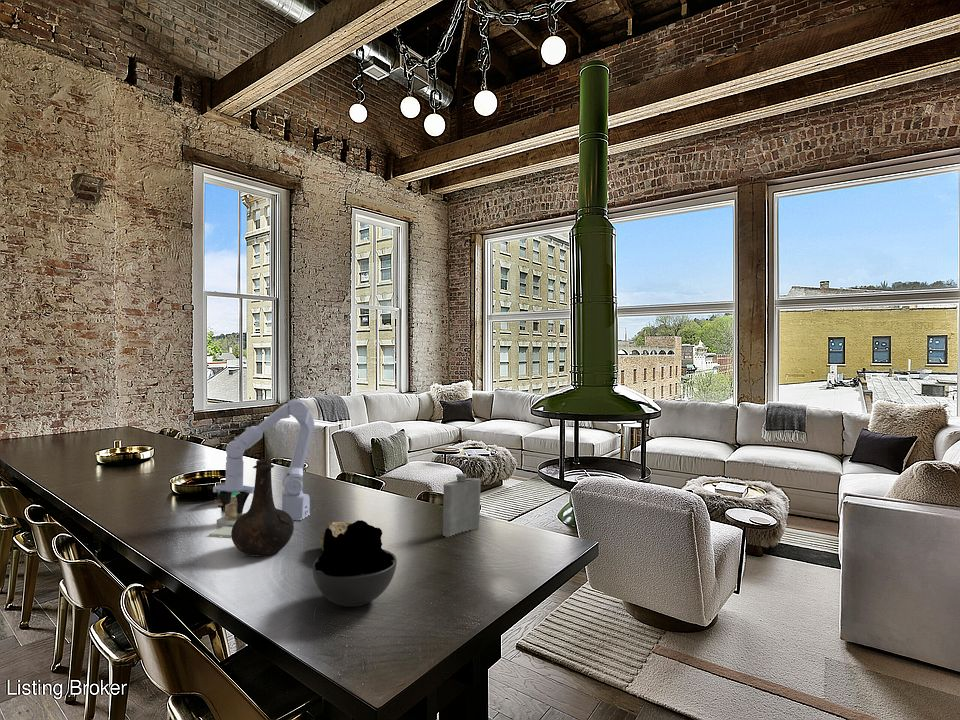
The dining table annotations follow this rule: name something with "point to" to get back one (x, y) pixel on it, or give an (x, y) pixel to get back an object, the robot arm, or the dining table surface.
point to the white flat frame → (226, 522)
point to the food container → (233, 496)
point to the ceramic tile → (222, 532)
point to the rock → (335, 529)
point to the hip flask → (461, 505)
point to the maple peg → (232, 511)
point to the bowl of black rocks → (354, 565)
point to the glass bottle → (262, 519)
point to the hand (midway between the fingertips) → (233, 512)
